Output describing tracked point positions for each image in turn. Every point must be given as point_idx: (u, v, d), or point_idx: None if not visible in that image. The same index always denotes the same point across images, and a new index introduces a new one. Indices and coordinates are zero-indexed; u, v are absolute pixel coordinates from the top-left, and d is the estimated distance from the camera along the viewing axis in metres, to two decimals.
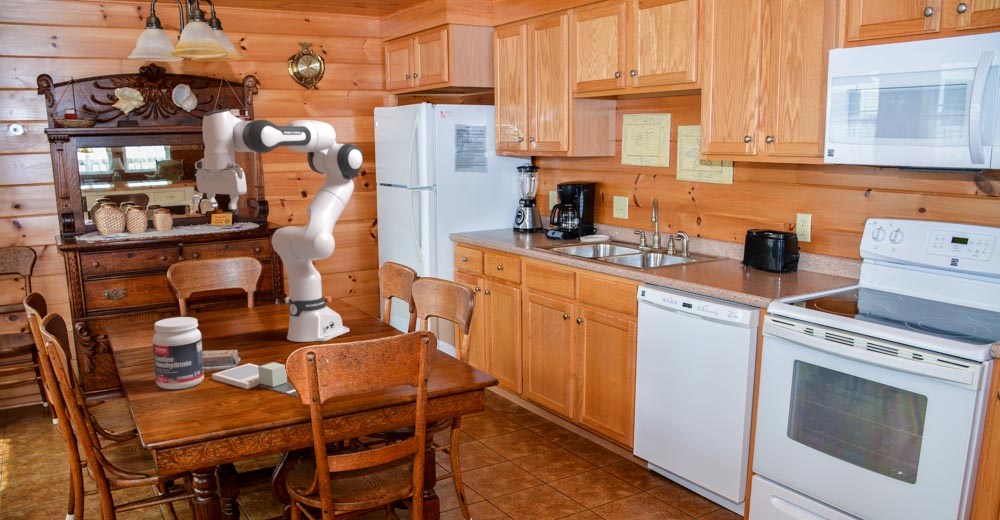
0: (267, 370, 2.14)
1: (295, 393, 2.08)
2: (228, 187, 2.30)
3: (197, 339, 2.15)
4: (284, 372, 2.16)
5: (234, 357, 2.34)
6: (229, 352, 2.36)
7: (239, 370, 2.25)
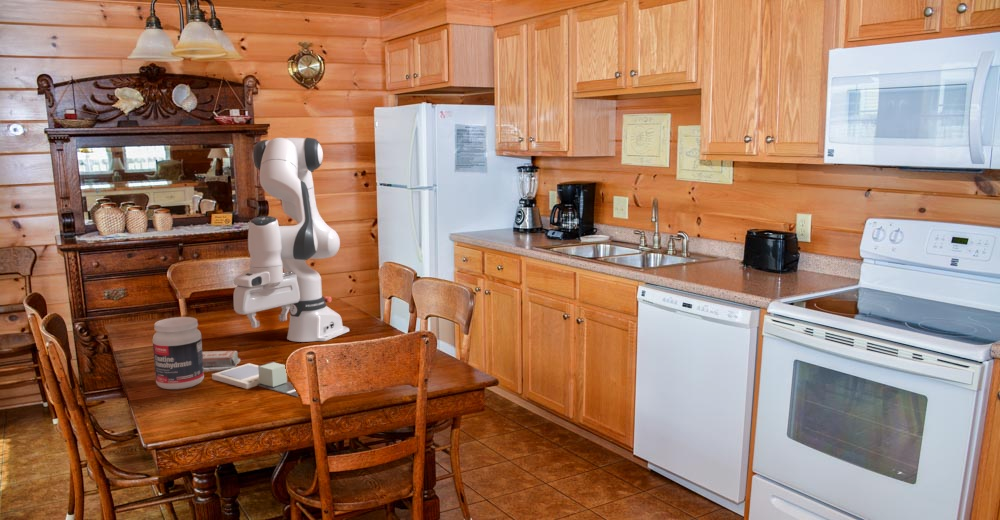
0: (267, 370, 2.14)
1: (295, 393, 2.08)
2: (289, 297, 2.17)
3: (197, 339, 2.15)
4: (284, 372, 2.16)
5: (233, 358, 2.33)
6: (228, 353, 2.35)
7: (239, 370, 2.25)
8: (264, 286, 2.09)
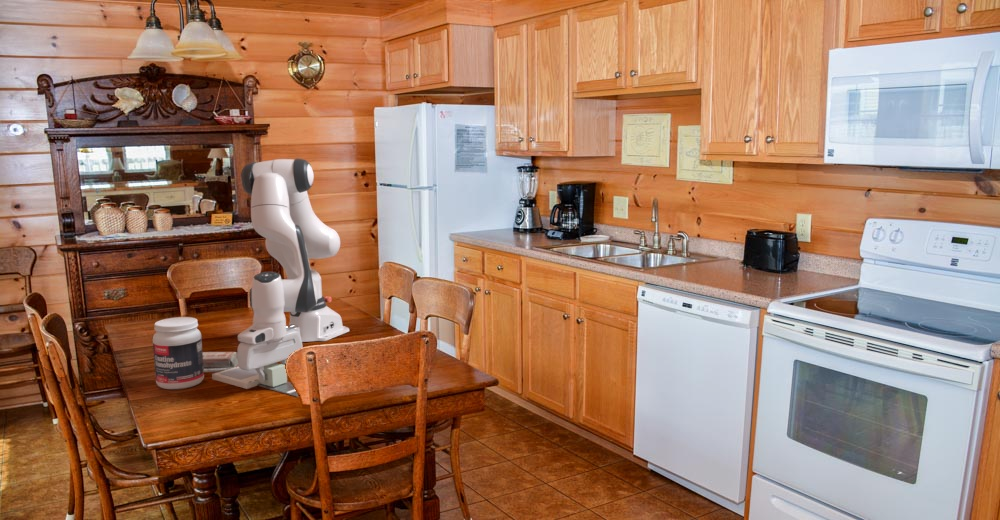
0: (267, 370, 2.14)
1: (295, 393, 2.08)
2: (292, 350, 2.19)
3: (197, 339, 2.15)
4: (284, 372, 2.16)
5: (231, 359, 2.32)
6: (227, 354, 2.33)
7: (239, 370, 2.25)
8: (267, 342, 2.12)
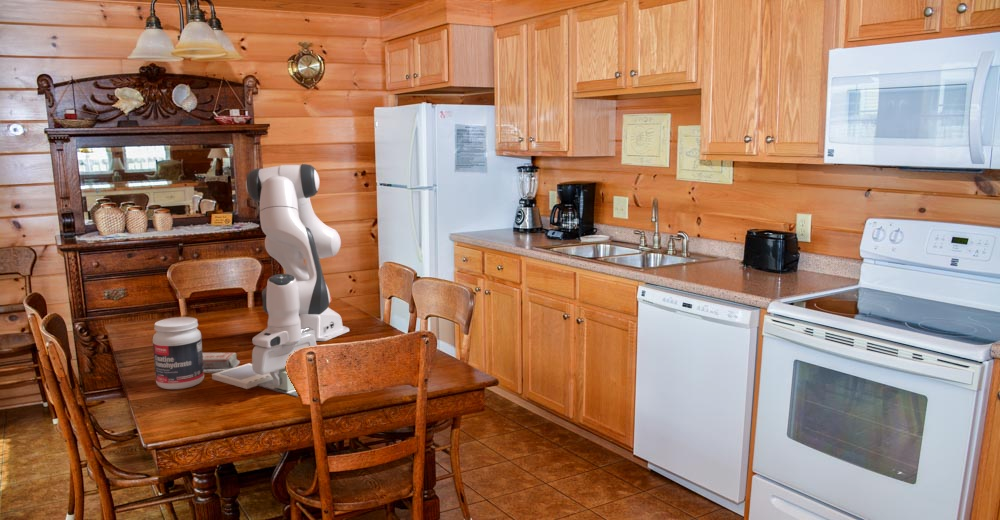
0: (281, 373, 2.10)
1: (295, 393, 2.08)
2: None
3: (197, 339, 2.15)
4: None
5: (230, 360, 2.31)
6: (226, 355, 2.33)
7: (239, 370, 2.25)
8: (282, 345, 2.08)
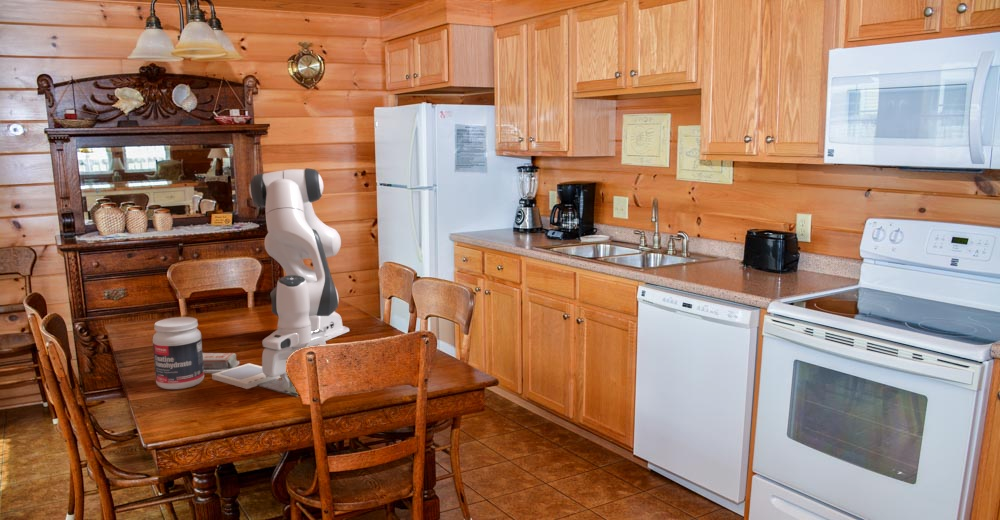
0: None
1: (295, 393, 2.08)
2: None
3: (197, 339, 2.15)
4: None
5: (229, 361, 2.30)
6: (226, 355, 2.32)
7: (239, 370, 2.25)
8: (293, 347, 2.06)
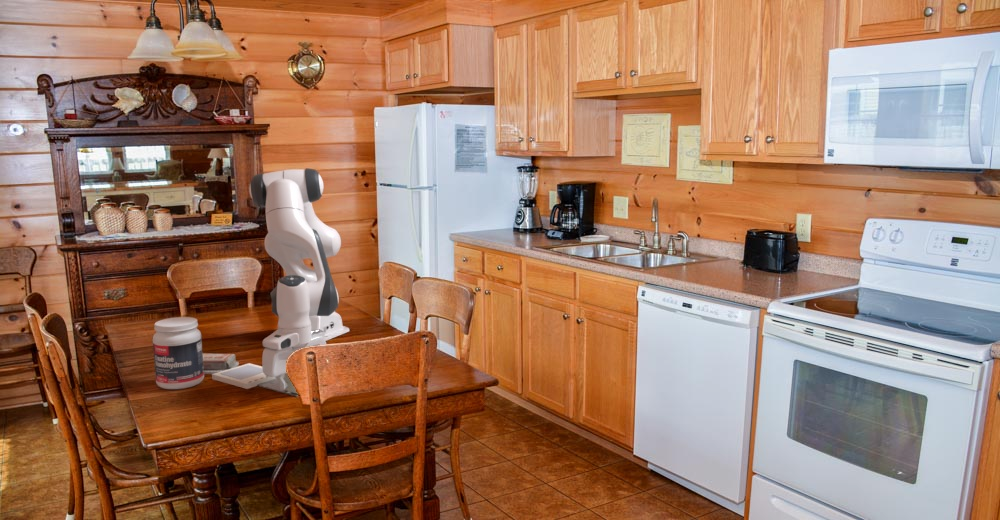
0: None
1: (295, 393, 2.08)
2: None
3: (197, 339, 2.15)
4: None
5: (228, 362, 2.29)
6: (225, 356, 2.31)
7: (239, 370, 2.25)
8: (293, 347, 2.06)
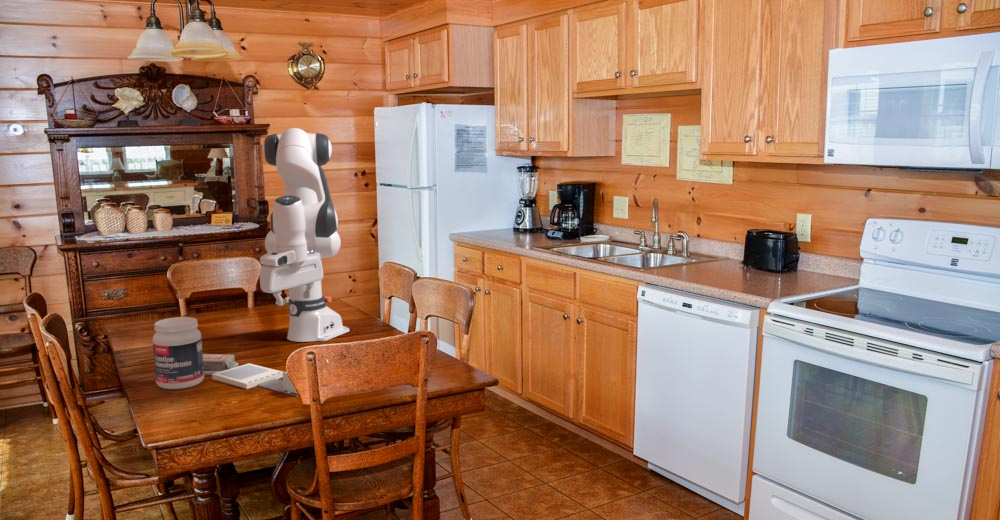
0: None
1: (295, 393, 2.08)
2: (313, 275, 2.20)
3: (197, 339, 2.15)
4: None
5: (226, 363, 2.29)
6: (223, 357, 2.30)
7: (239, 370, 2.25)
8: (289, 265, 2.12)
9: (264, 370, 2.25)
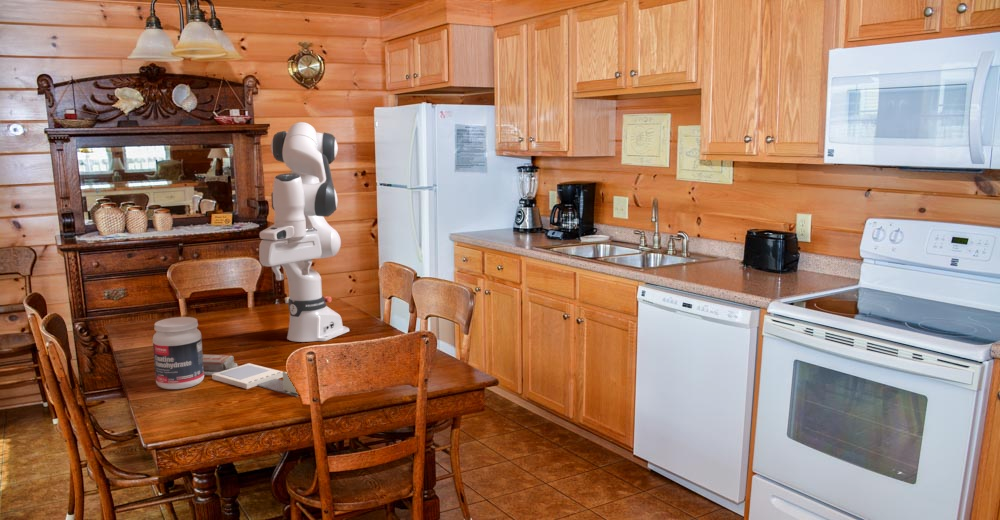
0: None
1: (295, 393, 2.08)
2: (311, 252, 2.25)
3: (197, 339, 2.15)
4: None
5: (225, 363, 2.28)
6: (222, 357, 2.30)
7: (239, 370, 2.25)
8: (288, 240, 2.17)
9: (264, 370, 2.25)
